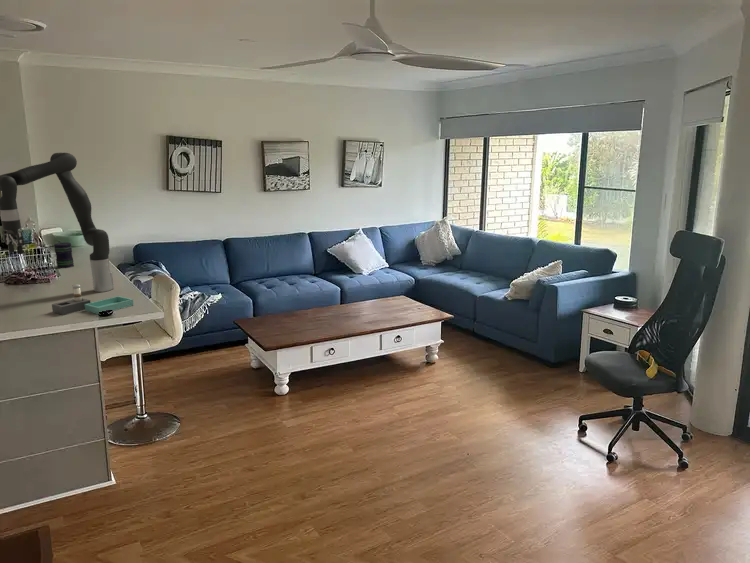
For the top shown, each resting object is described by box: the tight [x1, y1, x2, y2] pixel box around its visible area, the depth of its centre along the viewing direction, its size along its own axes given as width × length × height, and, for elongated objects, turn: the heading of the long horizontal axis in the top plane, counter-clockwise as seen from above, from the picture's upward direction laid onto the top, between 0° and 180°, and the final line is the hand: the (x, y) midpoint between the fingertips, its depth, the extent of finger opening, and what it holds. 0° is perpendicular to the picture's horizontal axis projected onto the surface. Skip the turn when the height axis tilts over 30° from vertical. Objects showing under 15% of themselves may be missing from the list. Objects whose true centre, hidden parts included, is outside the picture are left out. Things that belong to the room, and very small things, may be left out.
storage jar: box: [53, 242, 75, 269], centre depth 387 cm, size 10×10×15 cm
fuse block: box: [51, 297, 92, 316], centre depth 288 cm, size 14×9×4 cm, turn 146°
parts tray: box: [84, 295, 134, 315], centre depth 291 cm, size 18×12×3 cm, turn 146°
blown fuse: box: [72, 283, 83, 302], centre depth 290 cm, size 3×3×10 cm
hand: (16, 253), depth 284 cm, fingers open, 8 cm apart
